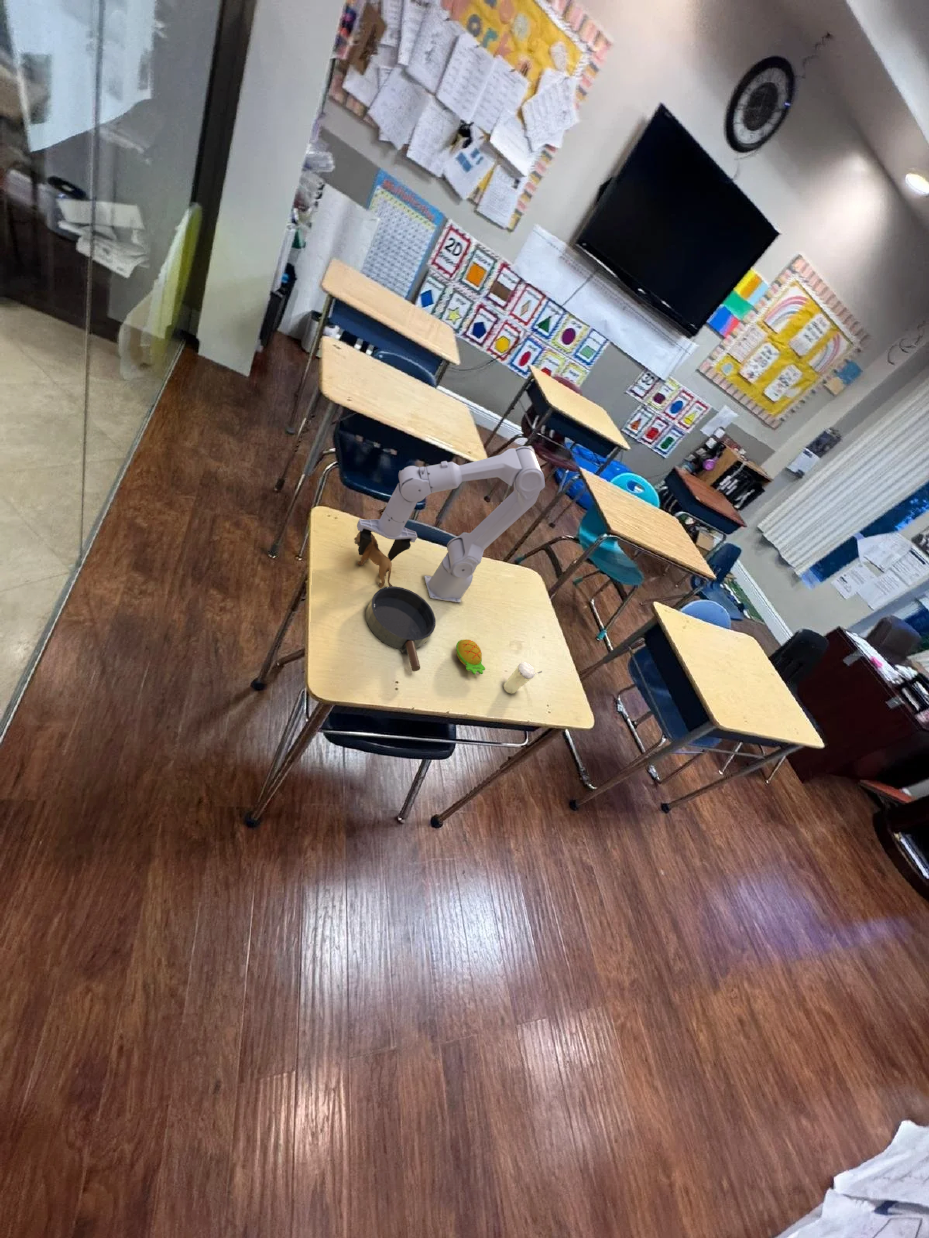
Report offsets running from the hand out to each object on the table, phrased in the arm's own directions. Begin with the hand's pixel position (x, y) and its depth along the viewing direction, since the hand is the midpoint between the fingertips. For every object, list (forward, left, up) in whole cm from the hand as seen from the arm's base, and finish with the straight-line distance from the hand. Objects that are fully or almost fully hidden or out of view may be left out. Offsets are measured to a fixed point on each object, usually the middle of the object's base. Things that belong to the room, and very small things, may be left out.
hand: (374, 555), depth 127 cm
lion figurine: (0, 0, -5) cm, 5 cm away
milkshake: (-32, +34, -5) cm, 47 cm away
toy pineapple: (-21, +27, -6) cm, 35 cm away
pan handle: (-5, +28, -5) cm, 29 cm away
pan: (-5, +17, -5) cm, 18 cm away
